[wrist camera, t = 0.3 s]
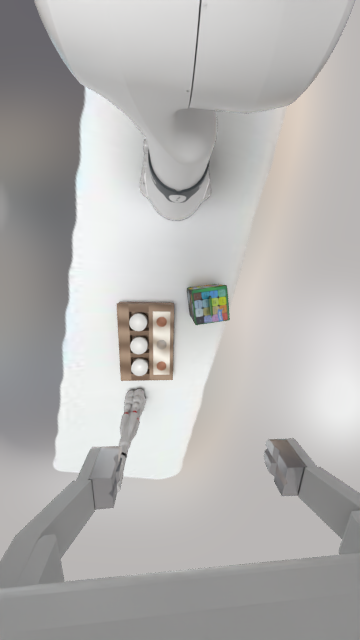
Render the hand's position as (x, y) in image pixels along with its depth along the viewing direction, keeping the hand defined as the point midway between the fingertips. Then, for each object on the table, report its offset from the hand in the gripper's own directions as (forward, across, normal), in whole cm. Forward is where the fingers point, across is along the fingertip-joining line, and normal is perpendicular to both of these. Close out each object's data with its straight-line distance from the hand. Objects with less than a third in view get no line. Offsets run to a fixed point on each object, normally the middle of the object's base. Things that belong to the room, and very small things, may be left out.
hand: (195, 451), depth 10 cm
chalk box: (+47, -9, -3) cm, 48 cm away
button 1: (+44, +10, +17) cm, 48 cm away
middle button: (+44, +10, +10) cm, 46 cm away
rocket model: (+47, +12, +30) cm, 57 cm away
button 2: (+44, +10, +3) cm, 45 cm away
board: (+47, +8, +10) cm, 48 cm away
